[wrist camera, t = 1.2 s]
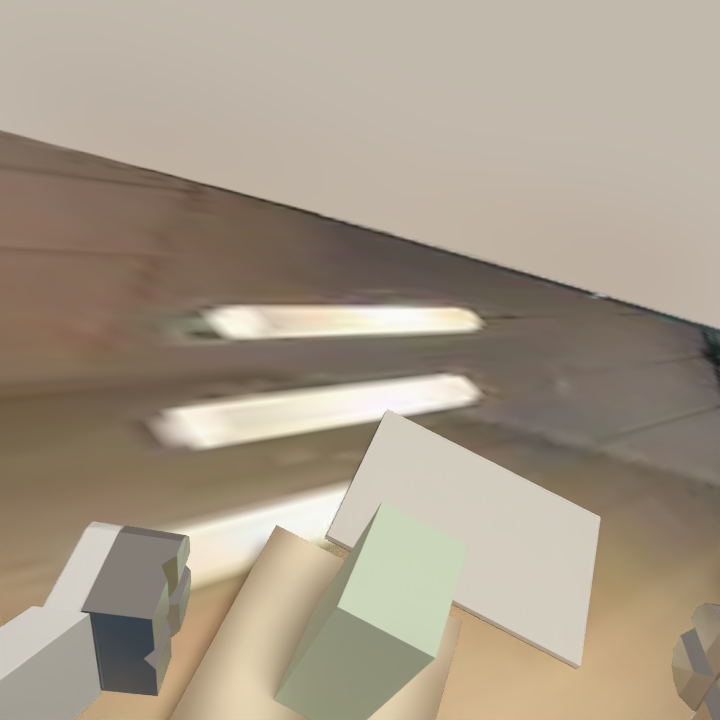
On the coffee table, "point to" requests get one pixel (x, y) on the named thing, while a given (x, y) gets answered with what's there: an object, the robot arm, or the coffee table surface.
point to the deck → (288, 643)
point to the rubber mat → (484, 532)
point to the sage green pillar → (375, 620)
